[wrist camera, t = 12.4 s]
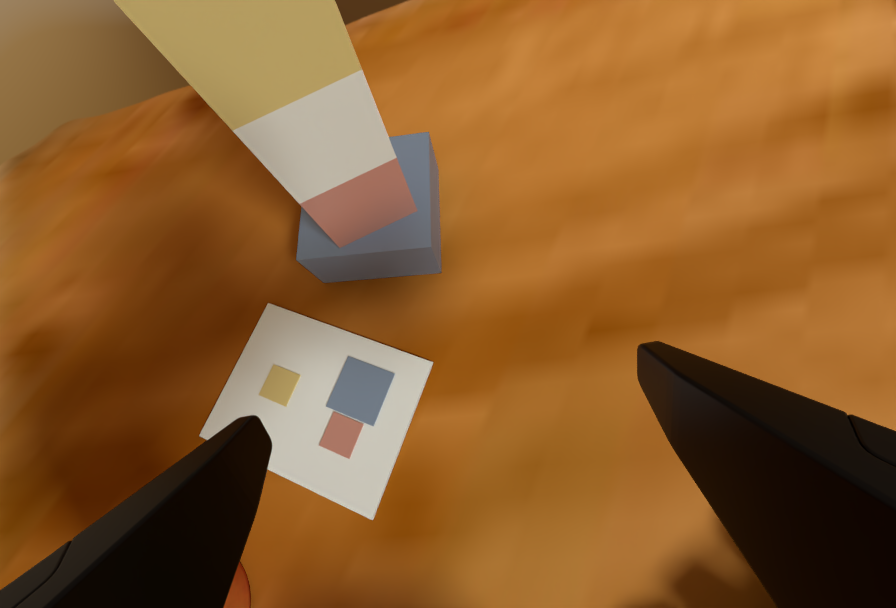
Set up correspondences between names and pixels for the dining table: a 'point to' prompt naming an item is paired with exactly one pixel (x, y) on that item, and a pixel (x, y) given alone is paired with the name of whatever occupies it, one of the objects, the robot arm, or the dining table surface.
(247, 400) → the page
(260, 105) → the brick column
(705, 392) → the robot arm
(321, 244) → the base brick
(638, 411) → the dining table surface
